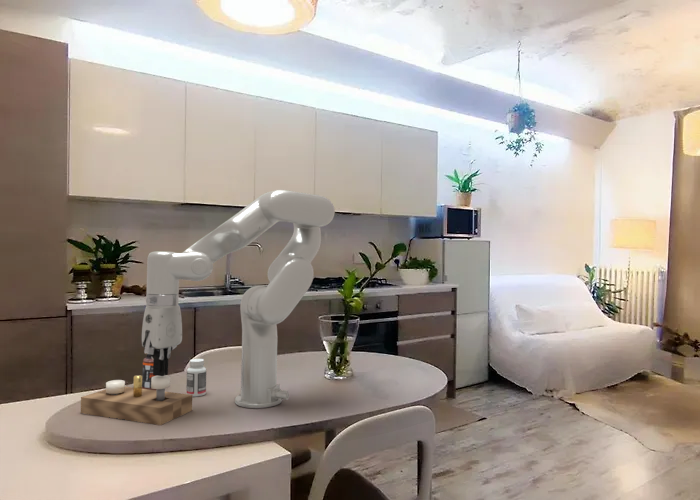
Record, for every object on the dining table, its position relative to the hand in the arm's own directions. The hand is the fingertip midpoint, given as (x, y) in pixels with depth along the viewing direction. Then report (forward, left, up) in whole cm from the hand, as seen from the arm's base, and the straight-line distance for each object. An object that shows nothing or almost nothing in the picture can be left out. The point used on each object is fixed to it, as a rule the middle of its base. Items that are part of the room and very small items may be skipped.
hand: (160, 374), depth 126 cm
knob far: (+14, 0, -9) cm, 16 cm away
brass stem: (+7, 0, -6) cm, 9 cm away
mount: (+7, 0, -10) cm, 12 cm away
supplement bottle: (+18, -19, -10) cm, 28 cm away
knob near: (0, 0, -6) cm, 6 cm away
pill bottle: (+3, -19, -10) cm, 22 cm away
